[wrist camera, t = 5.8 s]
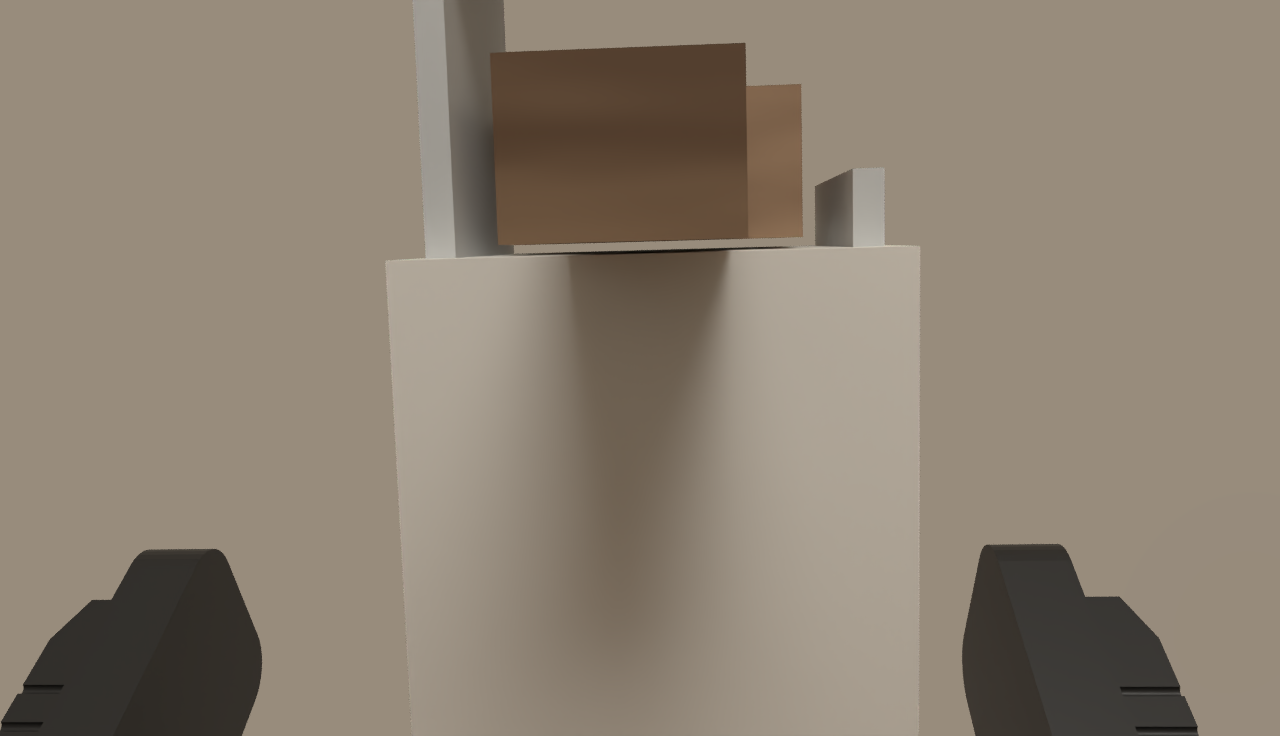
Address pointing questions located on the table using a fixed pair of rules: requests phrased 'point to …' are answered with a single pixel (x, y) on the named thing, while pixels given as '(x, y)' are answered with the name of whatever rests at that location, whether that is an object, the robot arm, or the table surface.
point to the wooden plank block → (643, 147)
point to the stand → (649, 459)
